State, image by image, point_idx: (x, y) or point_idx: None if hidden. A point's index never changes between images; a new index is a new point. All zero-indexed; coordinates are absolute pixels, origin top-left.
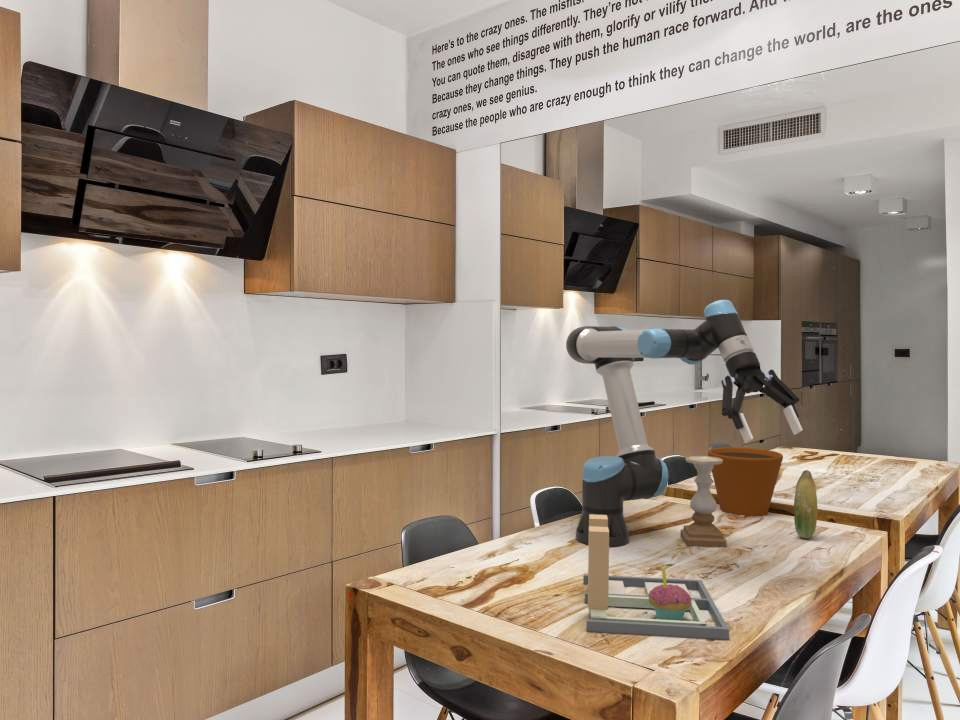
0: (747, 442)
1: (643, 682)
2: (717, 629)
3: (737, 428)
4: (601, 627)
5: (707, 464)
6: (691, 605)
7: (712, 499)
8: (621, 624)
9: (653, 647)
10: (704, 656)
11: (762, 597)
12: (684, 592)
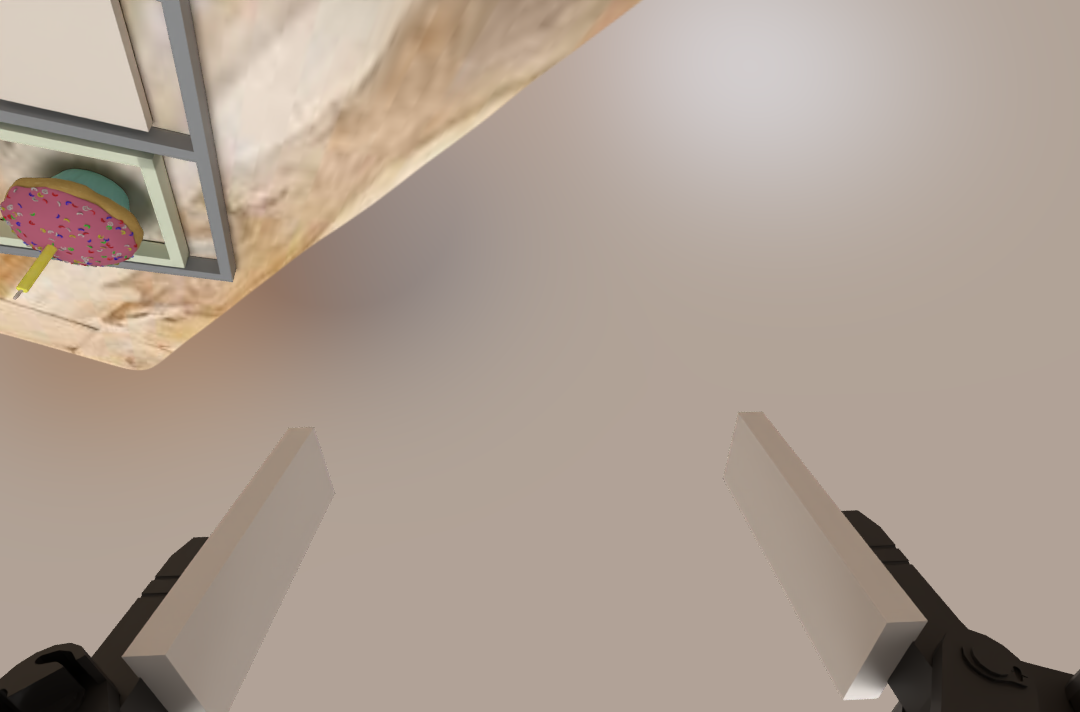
0: (310, 432)
1: (87, 349)
2: (209, 277)
3: (192, 550)
4: None
5: None
6: (146, 182)
7: None
8: None
9: (80, 280)
10: (184, 305)
11: (381, 92)
12: (113, 251)
